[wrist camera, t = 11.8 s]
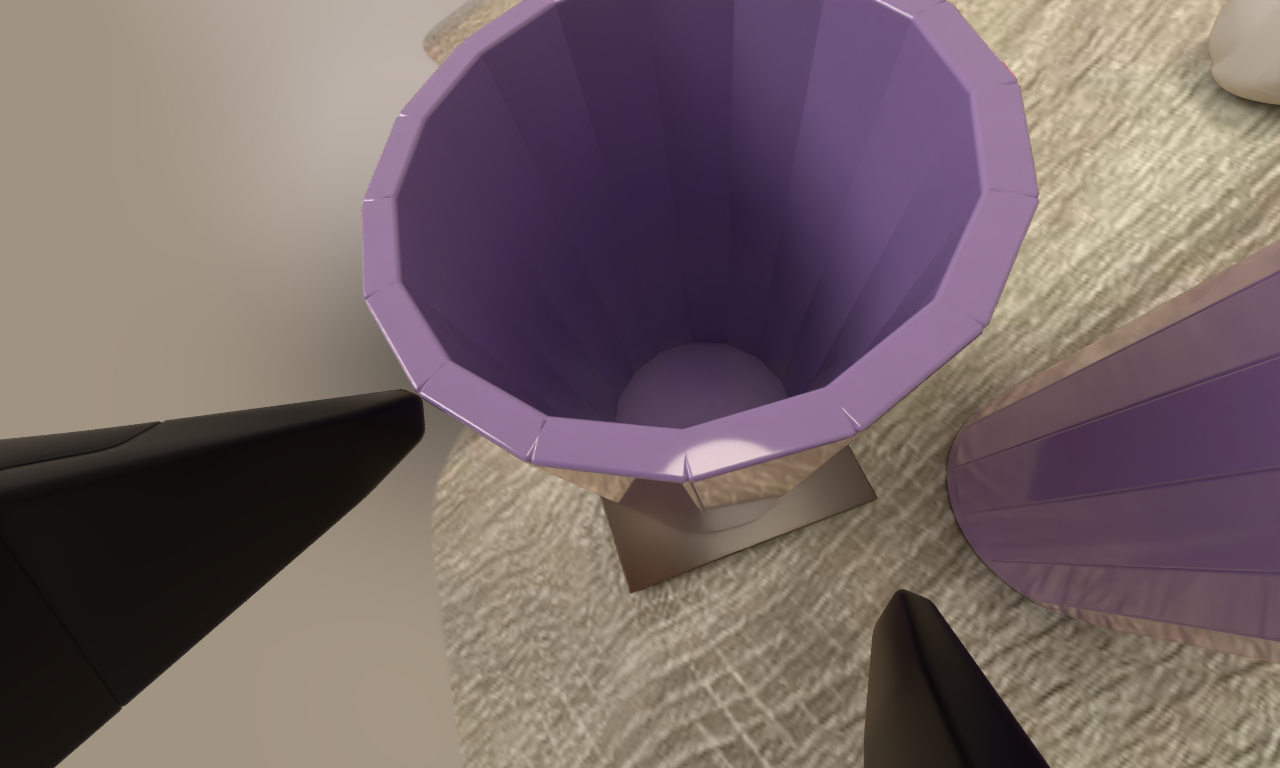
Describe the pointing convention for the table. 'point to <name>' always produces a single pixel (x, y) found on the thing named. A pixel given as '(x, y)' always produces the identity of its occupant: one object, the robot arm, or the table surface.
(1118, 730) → the table surface
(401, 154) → the tumbler
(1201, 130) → the table surface
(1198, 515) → the tumbler
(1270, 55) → the rubber duck
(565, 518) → the table surface
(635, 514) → the coaster
